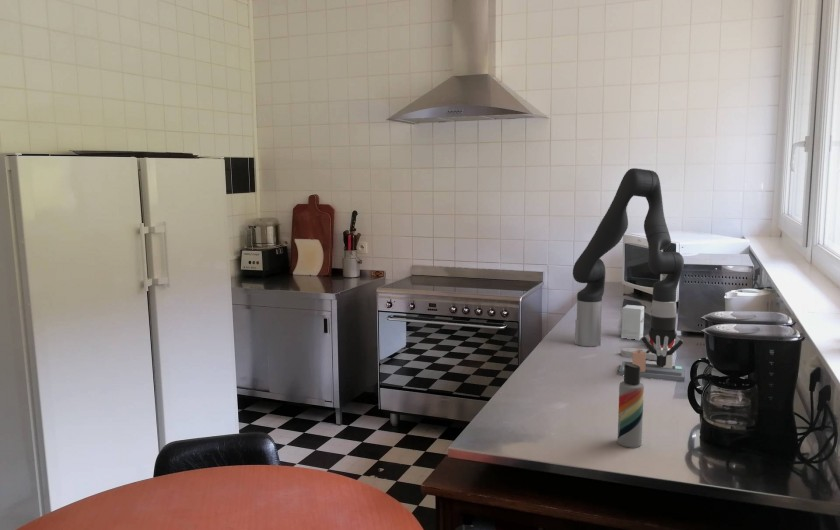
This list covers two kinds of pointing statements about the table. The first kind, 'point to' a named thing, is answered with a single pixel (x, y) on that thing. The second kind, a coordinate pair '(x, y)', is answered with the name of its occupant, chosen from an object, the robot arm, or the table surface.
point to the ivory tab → (668, 359)
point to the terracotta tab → (639, 359)
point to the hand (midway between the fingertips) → (661, 366)
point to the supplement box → (632, 322)
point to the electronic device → (629, 351)
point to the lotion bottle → (630, 408)
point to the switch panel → (659, 372)
